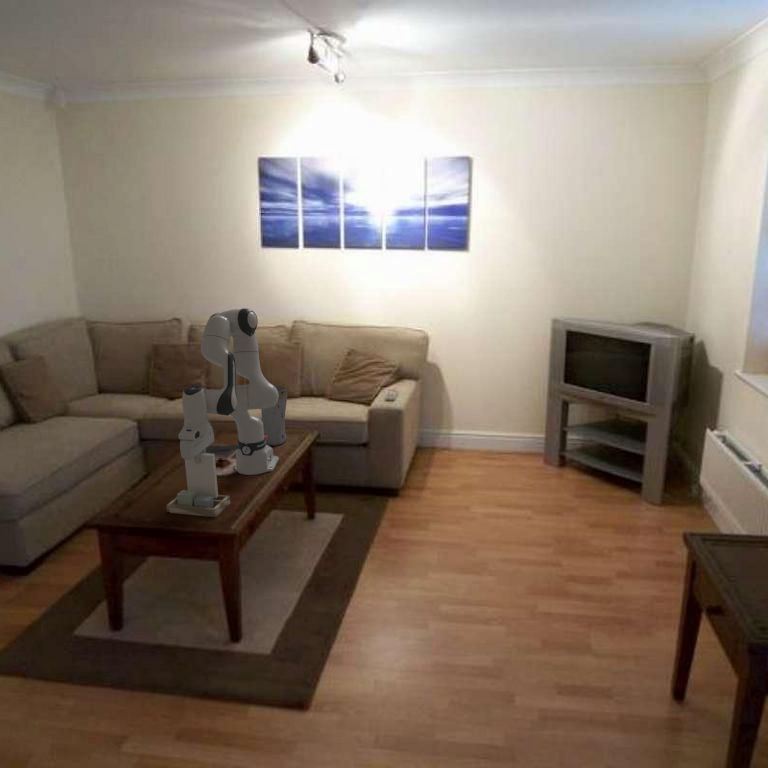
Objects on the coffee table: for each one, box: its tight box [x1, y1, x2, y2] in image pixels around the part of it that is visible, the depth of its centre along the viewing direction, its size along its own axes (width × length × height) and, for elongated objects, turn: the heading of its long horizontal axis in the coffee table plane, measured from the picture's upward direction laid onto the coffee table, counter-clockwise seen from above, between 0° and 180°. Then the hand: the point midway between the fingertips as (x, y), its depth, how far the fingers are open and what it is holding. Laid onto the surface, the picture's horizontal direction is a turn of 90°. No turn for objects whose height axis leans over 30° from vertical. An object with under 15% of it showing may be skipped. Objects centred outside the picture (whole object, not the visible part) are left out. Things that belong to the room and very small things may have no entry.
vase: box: [260, 384, 288, 447], centre depth 327 cm, size 13×14×28 cm
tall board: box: [184, 453, 219, 498], centre depth 260 cm, size 2×12×18 cm, turn 77°
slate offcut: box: [194, 495, 214, 508], centre depth 256 cm, size 4×6×6 cm, turn 77°
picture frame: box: [205, 443, 239, 460], centre depth 317 cm, size 16×2×22 cm
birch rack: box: [165, 494, 231, 518], centre depth 259 cm, size 13×20×3 cm, turn 77°
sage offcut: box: [176, 489, 197, 507], centre depth 258 cm, size 4×6×7 cm, turn 77°
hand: (200, 461), depth 259 cm, fingers closed on tall board, 2 cm apart
